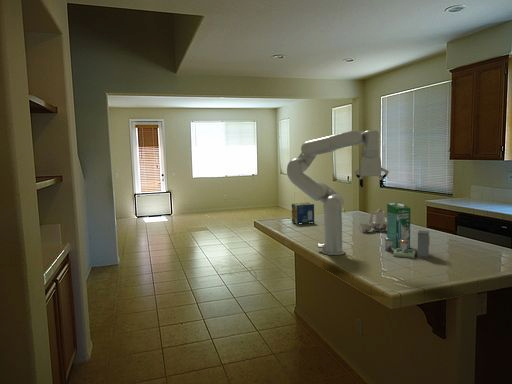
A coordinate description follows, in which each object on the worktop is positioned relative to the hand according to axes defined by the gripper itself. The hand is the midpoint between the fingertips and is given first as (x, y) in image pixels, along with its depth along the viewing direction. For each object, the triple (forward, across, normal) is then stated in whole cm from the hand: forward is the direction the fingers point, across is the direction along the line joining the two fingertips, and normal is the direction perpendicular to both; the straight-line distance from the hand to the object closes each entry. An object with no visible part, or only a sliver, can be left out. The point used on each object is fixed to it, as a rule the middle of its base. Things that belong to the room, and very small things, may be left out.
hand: (371, 187), depth 199 cm
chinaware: (+37, -6, +65) cm, 75 cm away
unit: (+36, +25, +7) cm, 45 cm away
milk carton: (+36, +11, +24) cm, 45 cm away
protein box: (+37, -67, +81) cm, 111 cm away
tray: (+36, +16, +6) cm, 40 cm away
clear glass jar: (+36, +7, +13) cm, 39 cm away
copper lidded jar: (+36, +16, +6) cm, 39 cm away
